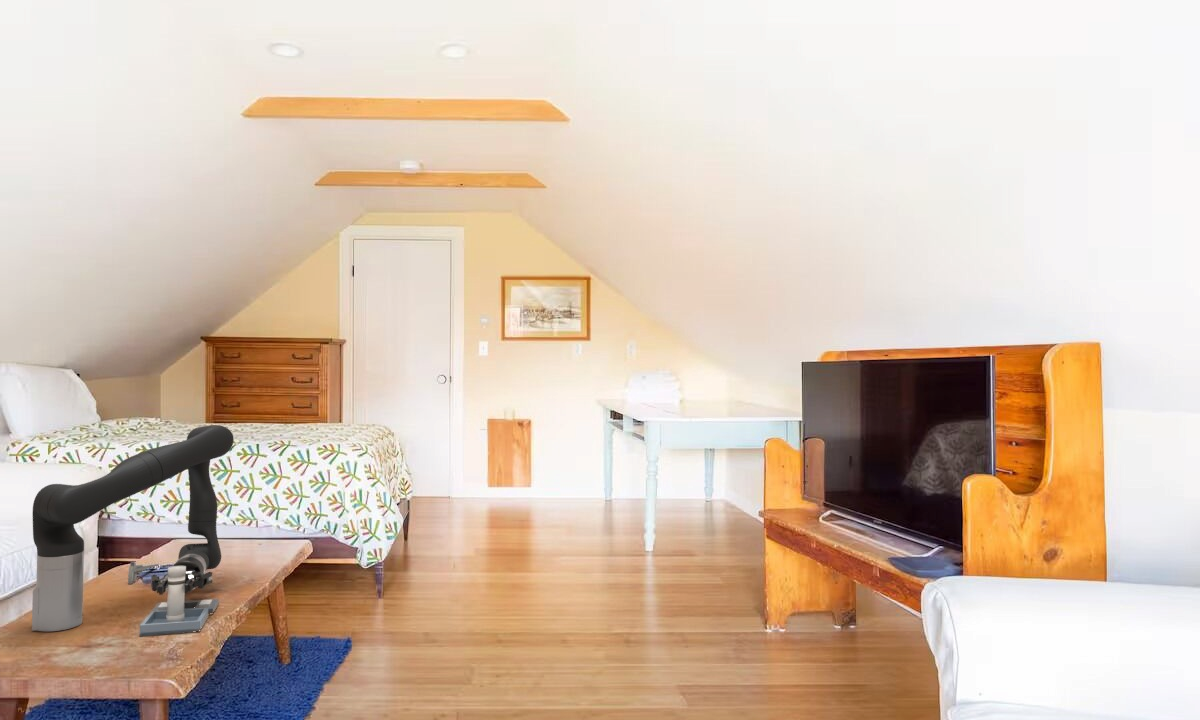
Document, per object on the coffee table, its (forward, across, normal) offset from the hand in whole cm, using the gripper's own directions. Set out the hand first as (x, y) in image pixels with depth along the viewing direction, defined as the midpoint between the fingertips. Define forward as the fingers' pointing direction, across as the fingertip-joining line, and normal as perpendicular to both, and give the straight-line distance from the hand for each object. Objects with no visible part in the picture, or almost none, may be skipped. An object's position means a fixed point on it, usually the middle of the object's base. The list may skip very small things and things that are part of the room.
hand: (173, 589), depth 187 cm
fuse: (-3, 0, +9) cm, 9 cm away
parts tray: (-3, 0, +10) cm, 10 cm away
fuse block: (-15, 0, +10) cm, 17 cm away
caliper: (-55, -18, +10) cm, 59 cm away
